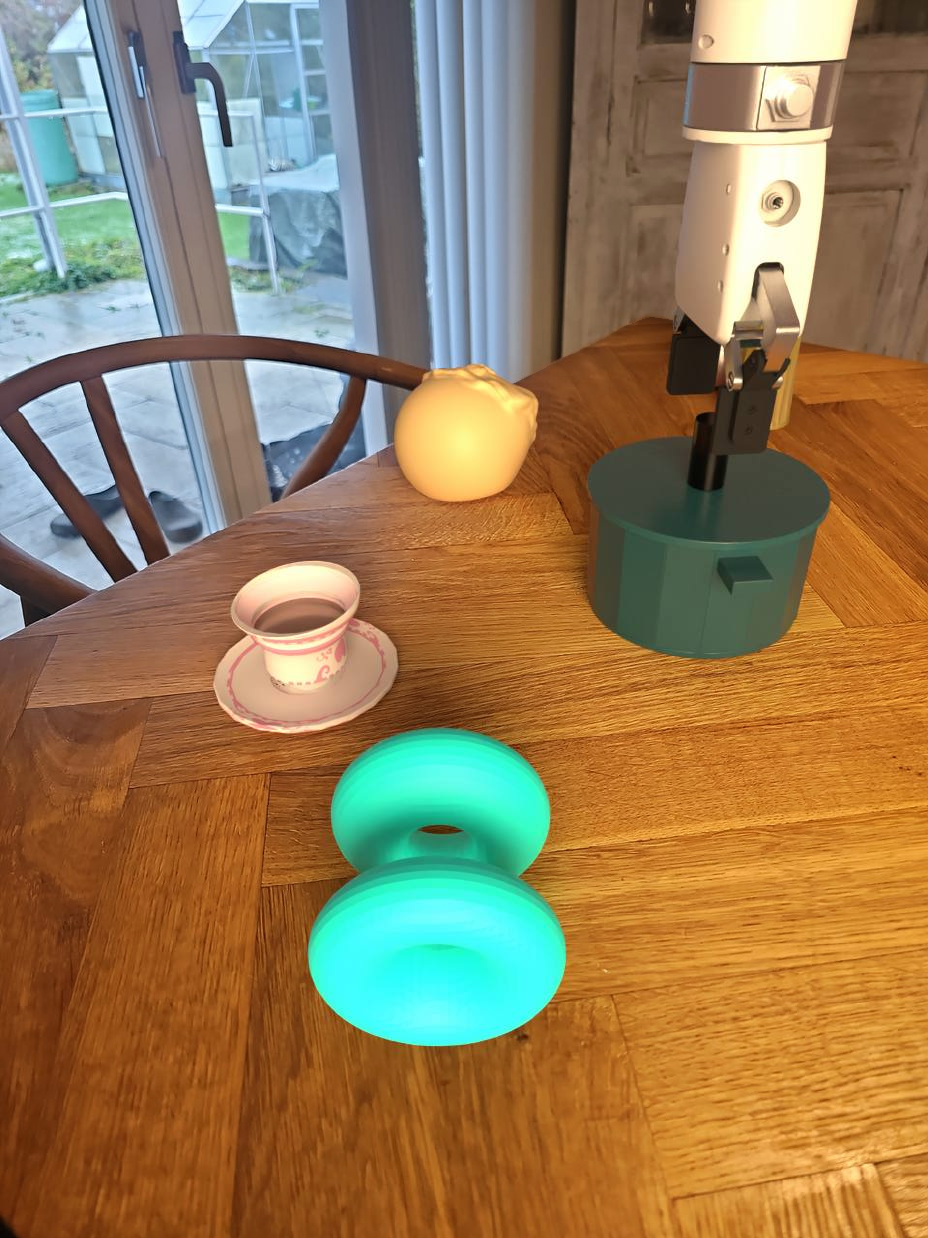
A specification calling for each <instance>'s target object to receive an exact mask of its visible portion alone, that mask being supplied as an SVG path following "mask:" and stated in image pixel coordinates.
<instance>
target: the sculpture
mask: <svg viewBox="0 0 928 1238" xmlns="http://www.w3.org/2000/svg"><path fill="white" fill-rule="evenodd" d="M538 413H539V400H538V398H537V397H536V395H535V394H534V393H533V392H532V391H531V390H529V389H526V388H525V387H523V386H519V385H517V384H514V383H511V382H509V381H507V380H506V379H505V378H502V377H500V376H499V375H498V373H497V372H496V371H494V370H493V369H492V368H491V367H489V366H486V365H485V364H482V363H472V364H467V365H466V366H457V367H453V368H448V367H440V368H433V370H429V371H426V372H425V373H424V374H423V375H422V380H421V383H420V384H419V385H417V386H416V387H415V388H414V389H413V390H412V391H411V392H410V393H409V395H408V396H407V397H406V398H405V399H404V401H403V403H402V406H401V407H400V409H399V411H398V414H397V418H396V419H395V425H394V430H393V447H394V453H395V456H396V460H397V463H398V465H399V468H400V470H401V472H402V474H403V475H404V477H405V478H406V480H407V482H409V484H410V485H411V486H412V487H413V488H414V489H415V490H416V491H417V492H419V493H420V494H421V495H423V496H425V497H427V498H429V499H432V500H435V501H440V502H449V503H461V502H469V501H476V500H480V499H484V498H489V497H492V496H494V495H497V494H499V493H501V492H502V491H504V490H506V489H507V488H508V487H509V486H510V485H511V484H512V483H513V481H514V480H515V478H516V477H517V475H518V474H519V472H520V470H521V468H522V466H523V464H524V462H525V460H526V457H527V455H528V452H529V449H530V447H531V446H532V444H533V443H534V442H535V440H536V437H537V429H538V422H537V415H538Z"/></svg>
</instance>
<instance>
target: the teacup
mask: <svg viewBox="0 0 928 1238" xmlns="http://www.w3.org/2000/svg"><path fill="white" fill-rule="evenodd" d="M360 601H361V585H360V582H359V579H358V578H357V576H356V575H355V574H354V573H353V572H352V571H351V570H350V569H348V568H346V567H345V566H343V565H340V564H337V563H334V562H329V561H324V560H323V561H322V560H305V561H295V562H292V563H287V564H283V565H279V566H277V567H274V568H271V569H269V570H267V571H265V572H262V573H261V574H259V575H257V576H256V577H254V578H252V579H251V580H250V581H248V582H247V583H246V584H244V585H243V587H241V588H240V589H239V591H238V592H237V593H236V595H235V596H234V598H233V599H232V601H231V605H230V616H231V620H232V621H233V623H234V624H235V625H236V626H237V628H239V629H240V630H241V631H243V633H245V634H247V635H245V636H244V637H242V639H240V640H239V641H238V642H236V643H235V644H234V645H233V646H232V647H230V648H229V649H227V652H225V654H224V656H223V657H222V658H221V660H220V661H219V662H218V664H217V666H216V668H215V673H214V676H213V677H214V678H213V682H212V687H213V690H214V694H215V696H216V700H217V701H218V706H219V707H220V708H221V709H223V710H224V712H225V713H227V714H228V715H229V717H231V718H232V719H233V720H234V721H235V722H238V723H240V724H243V725H245V726H248V727H250V728H253V729H255V730H257V731H262V732H263V731H264V732H272V733H280V734H298V733H308V732H315V731H323V730H325V729H328V728H331V727H335V726H337V725H341V724H344V723H347V722H350V721H352V720H353V719H355V718H357V717H359V716H360V715H362V714H364V713H365V712H368V711H369V710H370V709H373V708H374V707H375V706H377V705H378V703H379V702H380V701H381V700H382V699H383V698H384V697H385V696H386V694H387V693H389V691H390V690H391V689H392V687H393V685H394V683H395V680H396V677H397V675H398V673H399V660H398V659H399V657H398V649H397V648H396V645H394V642H393V641H392V640H391V639H390V637H389V636H388V634H387V633H385V632H384V631H382V630H381V629H380V628H378V627H377V626H376V625H374V624H372V623H370V622H367V621H364V620H361V619H358V618H354V616H355V614H356V613H357V611H358V608H359V606H360ZM271 679H272V680H273V681H271ZM277 680H278V681H280V682H281V683H280V682H278V681H277ZM274 682H276V683H277V684H278V685H276V684H274ZM282 684H284V685H285V686H283V685H282ZM279 686H280V687H279Z"/></svg>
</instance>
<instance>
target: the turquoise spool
mask: <svg viewBox="0 0 928 1238" xmlns="http://www.w3.org/2000/svg"><path fill="white" fill-rule="evenodd" d="M549 799H550V798H549V794H548V791H547V789H546V786H545V784H544V783H543V780H542V778H541V777H540V775H539V773H538V772H537V771H536V769H535V768H534V767H533V765H531V763H530V762H528V761H527V759H525V757H523V755H521V754H520V753H519V752H518V751H516V750H515V749H514V748H513V747H510V746H509V745H508V744H506V743H504V742H502V741H500V740H498V739H496V738H494V737H491V736H489V735H486V734H484V733H480V732H476V731H472V730H467V729H462V728H454V727H428V728H427V727H425V728H419V729H413V730H408V731H404V732H399V733H397V734H394V735H392V736H389V737H386V738H383V739H382V740H380V741H378V742H376V743H374V744H373V745H371V746H370V747H368V748H367V749H365V750H364V751H363V752H361V753H360V754H359V755H358V756H357V757H356V758H355V759H354V760H352V762H351V763H349V765H348V766H347V767H346V769H345V770H344V772H343V773H342V775H341V776H340V778H339V780H338V782H337V784H336V786H335V788H334V791H333V795H332V800H331V805H330V821H331V829H332V834H333V836H334V839H335V841H336V844H337V846H338V848H339V851H340V852H341V854H342V855H343V857H344V858H345V859H346V861H347V862H348V863H349V864H350V865H351V866H352V867H353V869H354V870H356V872H357V873H358V875H356V876H355V877H353V878H352V879H350V880H349V881H348V882H347V883H345V884H344V885H342V886H341V887H340V888H339V889H338V890H337V891H335V892H334V893H333V894H332V895H331V897H330V898H329V899H328V900H327V901H326V902H325V904H324V905H323V907H322V908H321V909H320V911H319V912H318V914H317V916H316V919H315V921H314V923H313V925H312V928H311V931H310V933H309V940H308V946H307V958H308V960H307V961H308V967H309V973H310V976H311V978H312V981H313V983H314V985H315V988H316V990H317V992H318V993H319V995H320V996H321V998H322V999H323V1001H324V1002H325V1003H326V1004H327V1005H328V1006H329V1007H330V1008H331V1009H332V1010H333V1011H334V1012H335V1013H336V1014H337V1015H338V1016H339V1017H341V1018H342V1019H343V1020H345V1021H346V1022H348V1023H349V1024H350V1025H352V1026H354V1027H355V1028H358V1029H359V1030H361V1031H364V1032H366V1033H368V1034H371V1035H373V1036H376V1037H379V1038H381V1039H385V1040H388V1041H393V1042H397V1043H403V1044H406V1045H412V1046H413V1045H414V1046H425V1047H426V1046H427V1047H429V1046H430V1047H444V1046H445V1047H446V1046H448V1047H449V1046H461V1045H470V1044H474V1043H479V1042H483V1041H487V1040H490V1039H495V1038H498V1037H500V1036H503V1035H505V1034H508V1033H509V1032H513V1031H514V1030H516V1029H518V1028H520V1027H521V1026H523V1025H525V1024H526V1023H528V1022H529V1021H530V1020H532V1019H533V1018H534V1017H535V1016H536V1015H538V1014H539V1013H540V1012H541V1011H542V1010H544V1008H546V1006H547V1005H548V1004H549V1003H550V1001H551V1000H552V999H553V997H554V995H555V994H556V992H557V991H558V988H559V986H560V984H561V982H562V980H563V977H564V973H565V969H566V961H567V947H566V946H567V945H566V938H565V934H564V931H563V928H562V926H561V923H560V920H559V919H558V917H557V914H556V913H555V912H554V910H553V908H552V907H551V905H550V903H548V901H547V900H546V899H545V897H543V896H542V895H541V894H540V893H539V892H538V891H537V890H536V889H535V888H534V887H533V886H531V885H530V884H529V883H527V881H525V880H524V879H522V878H521V877H520V876H521V875H522V874H523V873H524V872H526V871H527V869H528V868H529V867H531V866H532V864H534V862H535V860H536V859H537V858H538V856H539V855H540V853H541V851H542V849H543V847H544V845H545V843H546V841H547V838H548V835H549V831H550V824H551V805H550V800H549ZM428 826H449V827H455V828H457V829H460V830H461V831H459V832H453V833H430V832H425V831H421V830H419V829H422V828H425V827H428Z"/></svg>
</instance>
